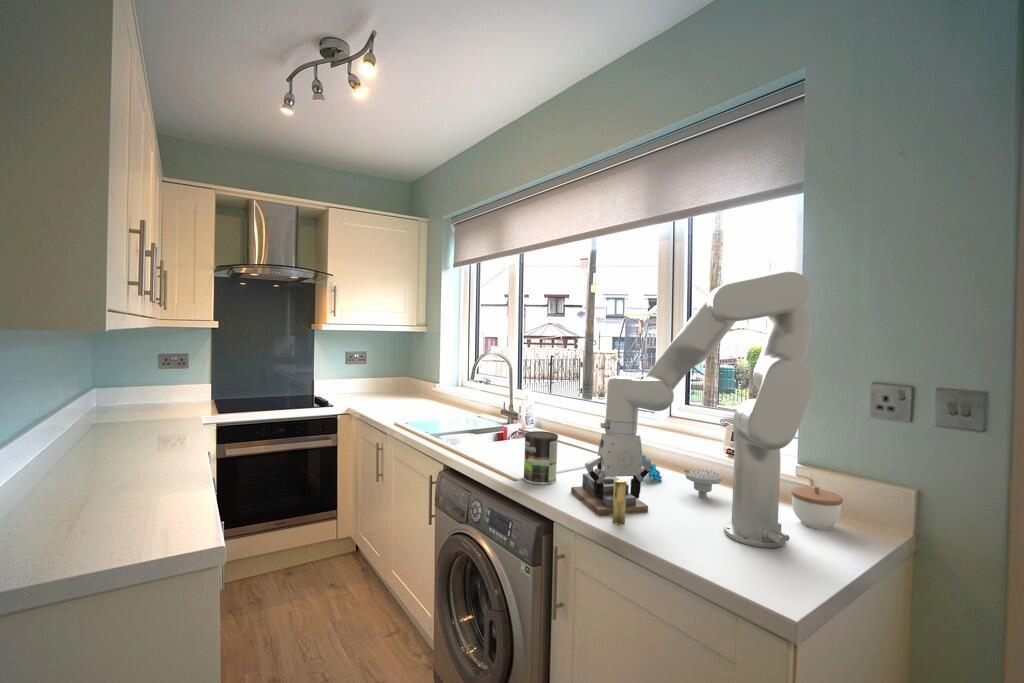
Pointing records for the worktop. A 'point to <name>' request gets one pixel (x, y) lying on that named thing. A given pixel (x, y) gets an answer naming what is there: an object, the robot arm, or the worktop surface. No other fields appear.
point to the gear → (653, 471)
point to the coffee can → (540, 457)
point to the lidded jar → (816, 506)
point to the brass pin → (619, 501)
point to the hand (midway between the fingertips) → (616, 497)
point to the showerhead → (703, 480)
